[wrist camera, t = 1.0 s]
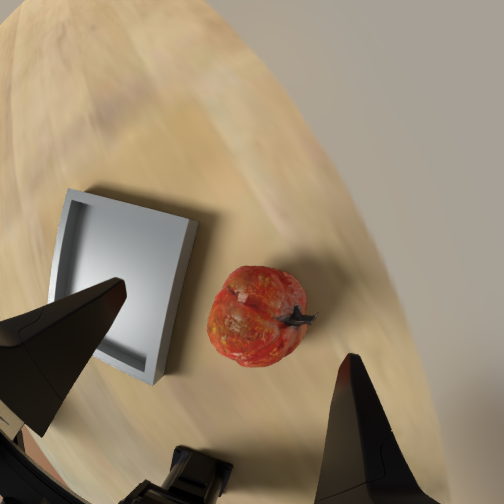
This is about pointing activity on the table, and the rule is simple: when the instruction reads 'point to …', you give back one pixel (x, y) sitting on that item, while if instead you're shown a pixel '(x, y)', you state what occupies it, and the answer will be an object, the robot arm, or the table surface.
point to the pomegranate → (258, 316)
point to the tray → (125, 274)
